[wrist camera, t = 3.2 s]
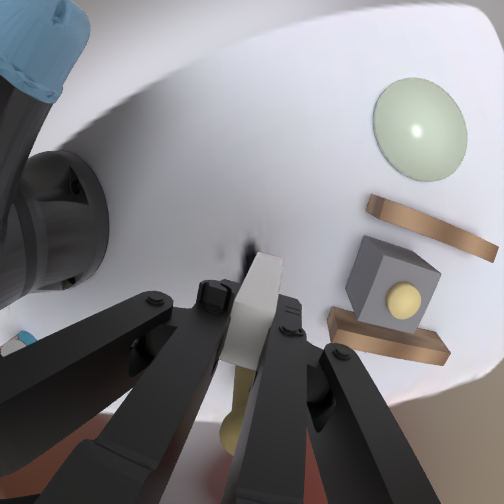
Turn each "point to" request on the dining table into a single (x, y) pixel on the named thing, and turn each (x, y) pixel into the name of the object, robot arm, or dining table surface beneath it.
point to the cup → (17, 343)
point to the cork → (236, 409)
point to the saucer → (420, 129)
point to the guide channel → (422, 341)
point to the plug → (390, 285)
